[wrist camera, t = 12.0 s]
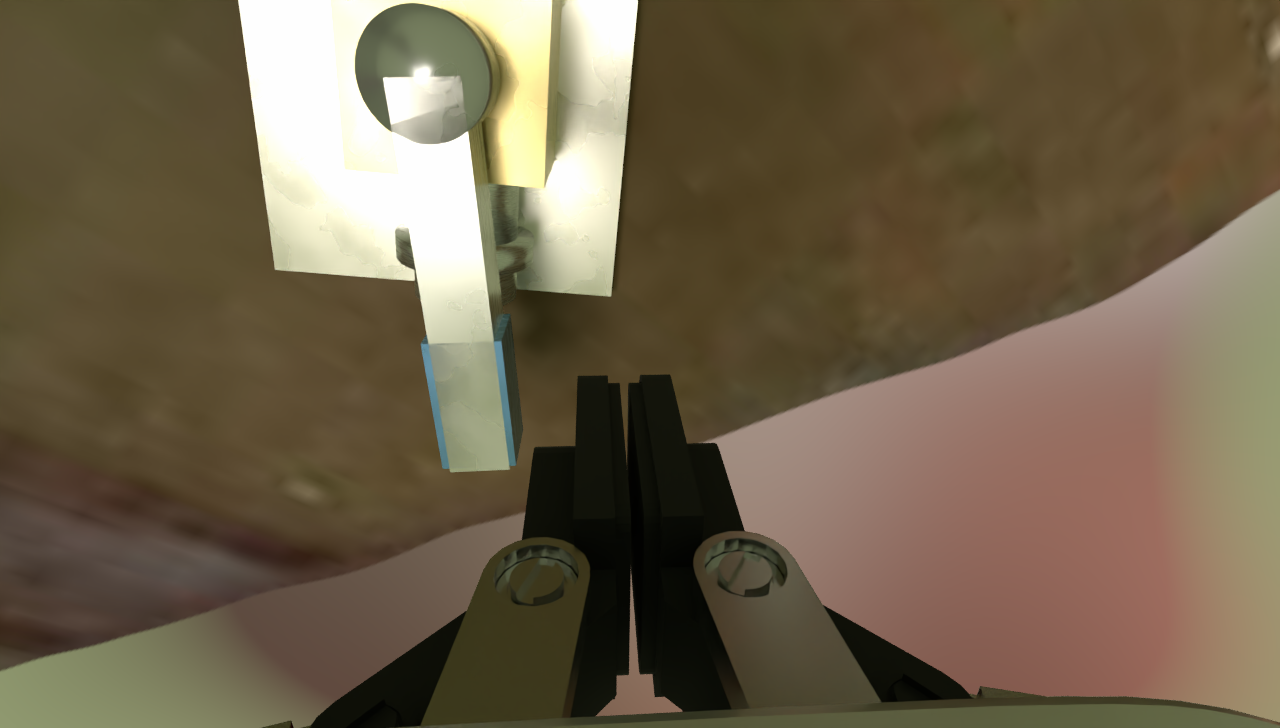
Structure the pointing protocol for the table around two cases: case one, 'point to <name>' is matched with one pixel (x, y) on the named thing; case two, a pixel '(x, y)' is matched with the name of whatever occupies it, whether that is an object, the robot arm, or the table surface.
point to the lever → (449, 220)
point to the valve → (512, 132)
